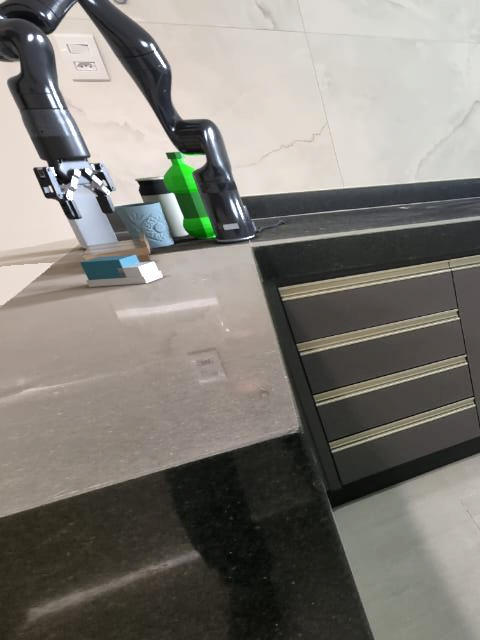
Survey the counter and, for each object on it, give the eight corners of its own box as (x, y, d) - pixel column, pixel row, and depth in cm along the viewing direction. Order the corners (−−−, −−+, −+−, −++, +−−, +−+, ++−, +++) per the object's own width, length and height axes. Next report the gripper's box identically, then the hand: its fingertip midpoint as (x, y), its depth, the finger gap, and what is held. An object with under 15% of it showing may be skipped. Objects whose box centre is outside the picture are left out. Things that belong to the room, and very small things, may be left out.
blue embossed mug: (174, 245, 155) (157, 203, 150) (130, 251, 150) (110, 208, 145) (178, 240, 163) (161, 200, 158) (135, 245, 158) (117, 204, 153)
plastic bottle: (192, 236, 168) (159, 152, 158) (231, 232, 172) (201, 150, 161) (181, 242, 160) (145, 154, 149) (222, 238, 163) (189, 151, 153)
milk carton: (120, 245, 160) (89, 179, 152) (89, 250, 155) (55, 182, 147) (112, 243, 164) (82, 179, 156) (81, 248, 158) (48, 182, 150)
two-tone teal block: (89, 287, 116) (76, 262, 113) (107, 280, 120) (96, 256, 118) (146, 283, 117) (135, 258, 114) (163, 277, 121) (152, 253, 119)
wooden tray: (95, 260, 141) (84, 239, 139) (152, 252, 148) (144, 231, 146) (91, 272, 129) (79, 249, 126) (154, 262, 136) (144, 240, 133)
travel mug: (164, 239, 165) (138, 179, 157) (155, 237, 169) (129, 179, 161) (194, 234, 171) (171, 176, 163) (184, 233, 175) (161, 176, 167)
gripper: (42, 134, 101) (83, 220, 107) (104, 133, 114) (137, 210, 120) (0, 136, 100) (43, 222, 107) (67, 135, 113) (102, 212, 120)
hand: (93, 216), depth 114 cm, fingers open, 8 cm apart
